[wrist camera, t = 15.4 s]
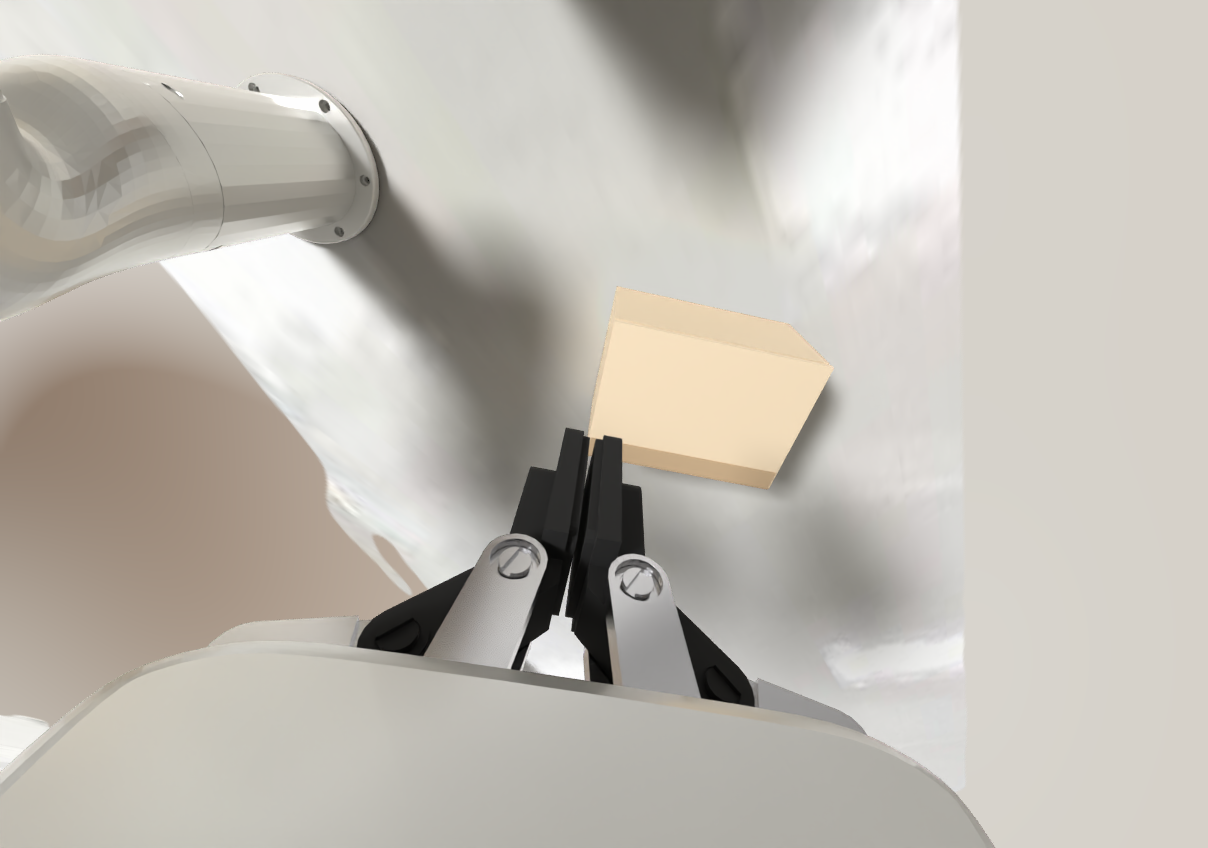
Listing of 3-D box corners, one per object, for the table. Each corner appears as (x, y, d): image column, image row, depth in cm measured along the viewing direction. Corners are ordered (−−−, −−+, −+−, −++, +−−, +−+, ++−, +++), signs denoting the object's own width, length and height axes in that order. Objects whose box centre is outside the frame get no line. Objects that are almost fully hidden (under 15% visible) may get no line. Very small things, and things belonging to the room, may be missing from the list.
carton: (592, 399, 49) (585, 449, 40) (616, 286, 42) (615, 317, 34) (742, 428, 50) (766, 483, 42) (789, 324, 43) (829, 363, 35)
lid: (585, 451, 40) (584, 455, 40) (614, 319, 33) (614, 322, 33) (767, 485, 41) (769, 489, 41) (831, 365, 35) (834, 368, 34)
